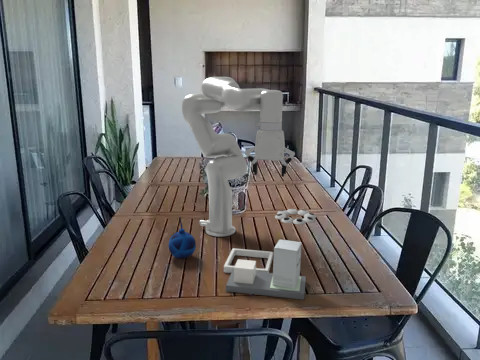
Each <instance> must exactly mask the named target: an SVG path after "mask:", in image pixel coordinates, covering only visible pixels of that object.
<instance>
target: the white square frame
mask: <svg viewBox="0 0 480 360" xmlns="http://www.w3.org/2000/svg"><path fill="white" fill-rule="evenodd" d="M235 256H241V257H250V258H252V257H253V258H261V259H262V258H263V259H267V262H266V265H265V268H261V267H260V268H258V267H256V272H266V273H270V269H271V265H272V261H273V260H274V251H266V250H257V249H256V250H255V249H245V248H235V247H234V248H233V247H232V249H231V251H230V253H229V255H228V257H227V259H226V260H225V263H224V264H223V273H227V274H231V273H232V271H233V269H234V267H235V265H231V264H232V262H233V260H234V257H235Z"/></svg>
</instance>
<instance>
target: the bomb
mask: <svg viewBox="0 0 480 360" xmlns="http://www.w3.org/2000/svg"><path fill="white" fill-rule="evenodd" d="M178 218H179V223H180V229H178V231H176V232H174V233H173V234H171V235H170V237H169V240H168V243H167V244H168V246H167V247H168V250H169V253H170V254H171V255H172V256H173V257H174V258H176V259H180V260H186V259H188V258H190V257H191V256H192V255H193V254H194V252H195V251H196V248H197V243H196V240H195V237H194V236H193V235H192V234H191V233H190V232H187V231H186V230H185V228H183V223H182V220H181V216H179V217H178Z"/></svg>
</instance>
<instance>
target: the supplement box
mask: <svg viewBox="0 0 480 360" xmlns="http://www.w3.org/2000/svg"><path fill="white" fill-rule="evenodd" d="M301 260H302V242H301V241H295V240H289V239H288V240H287V239H281V238H280V239H278V241H277V242H276V244H275V246H274V247H273V259H272V261H273V264H272V265H273V267H272V273H273V284H272V285H276V286H281V287H286V288H292V289H295V288H296V285H297V282H298V280H299V278H300V276H301V262H302V261H301Z"/></svg>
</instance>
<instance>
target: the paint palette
mask: <svg viewBox="0 0 480 360" xmlns="http://www.w3.org/2000/svg"><path fill="white" fill-rule="evenodd" d="M297 214H298V215H300V216H303V218H295V219H294V218H292V217H290V215H297ZM274 218H275V219H277V220H280V222H282V223H284V224H295V225H305V224H306V223H308V224H311V223H314V222H316V218H317V215H316V214H315V213H312V212H309V211H308V210H307V209H299V210H297V209H296V208H288V209H287V210H286V209H282V210H278V211H277V213H276V215H275V216H274Z"/></svg>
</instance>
